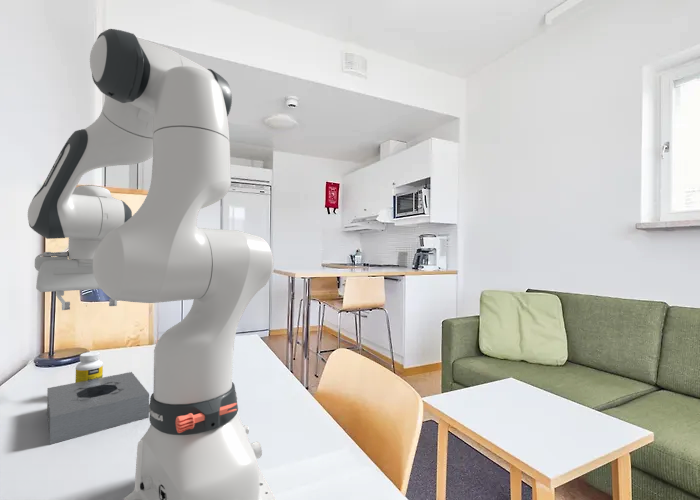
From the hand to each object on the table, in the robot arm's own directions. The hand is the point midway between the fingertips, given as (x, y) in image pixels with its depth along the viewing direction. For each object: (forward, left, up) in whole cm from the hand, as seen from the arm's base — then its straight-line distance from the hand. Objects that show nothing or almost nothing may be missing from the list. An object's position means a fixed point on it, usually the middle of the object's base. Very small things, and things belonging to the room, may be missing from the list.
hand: (90, 307), depth 87 cm
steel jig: (-15, 0, -21) cm, 26 cm away
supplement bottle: (0, 0, -21) cm, 21 cm away
